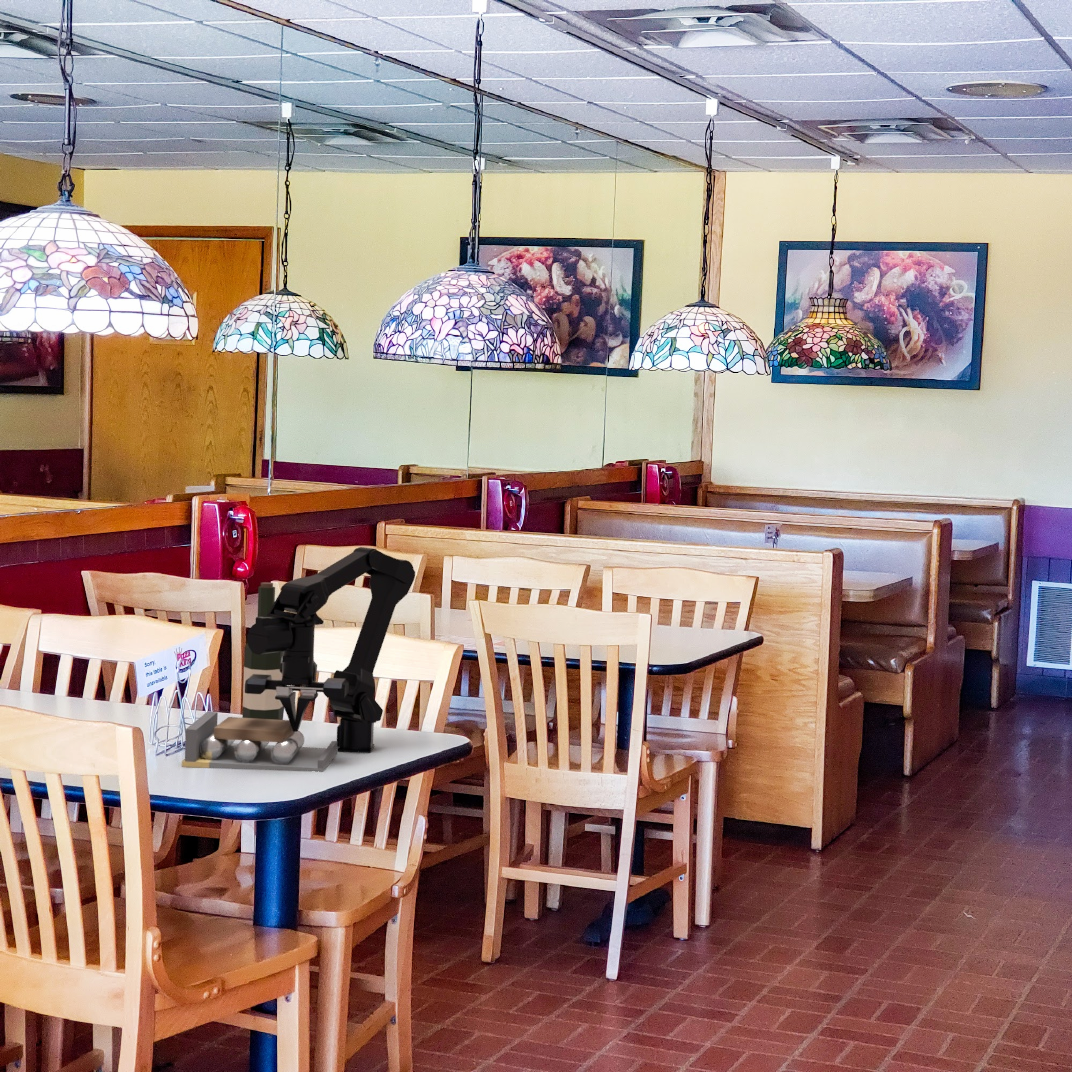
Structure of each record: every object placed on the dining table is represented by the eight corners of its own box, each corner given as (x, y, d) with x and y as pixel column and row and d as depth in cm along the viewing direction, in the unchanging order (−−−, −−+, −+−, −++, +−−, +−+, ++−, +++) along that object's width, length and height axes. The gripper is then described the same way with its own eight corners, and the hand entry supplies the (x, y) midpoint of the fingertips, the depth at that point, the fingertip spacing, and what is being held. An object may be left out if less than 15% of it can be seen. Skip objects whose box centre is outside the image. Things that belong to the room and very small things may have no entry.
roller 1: (231, 748, 284) (212, 739, 284) (239, 730, 284) (221, 721, 284) (215, 763, 272) (196, 754, 272) (224, 744, 272) (205, 735, 272)
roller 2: (272, 745, 283) (252, 750, 283) (266, 725, 283) (246, 730, 283) (258, 759, 271) (237, 765, 271) (252, 739, 271) (231, 744, 271)
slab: (295, 730, 282) (295, 720, 281) (283, 742, 272) (283, 731, 271) (228, 727, 282) (228, 716, 282) (213, 738, 272) (213, 727, 272)
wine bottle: (243, 730, 302) (248, 585, 300) (240, 721, 310) (244, 580, 308) (284, 730, 304) (289, 585, 302) (280, 721, 312) (285, 580, 310)
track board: (336, 753, 286) (338, 718, 285) (322, 773, 270) (324, 736, 269) (203, 746, 286) (204, 711, 286) (181, 766, 271) (182, 729, 270)
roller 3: (305, 749, 283) (284, 750, 283) (303, 728, 283) (283, 730, 283) (292, 764, 271) (271, 765, 271) (291, 742, 271) (269, 744, 271)
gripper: (354, 645, 284) (351, 724, 285) (257, 640, 284) (255, 720, 286) (345, 654, 273) (342, 737, 274) (245, 649, 273) (242, 732, 275)
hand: (295, 731), depth 277 cm, fingers closed
